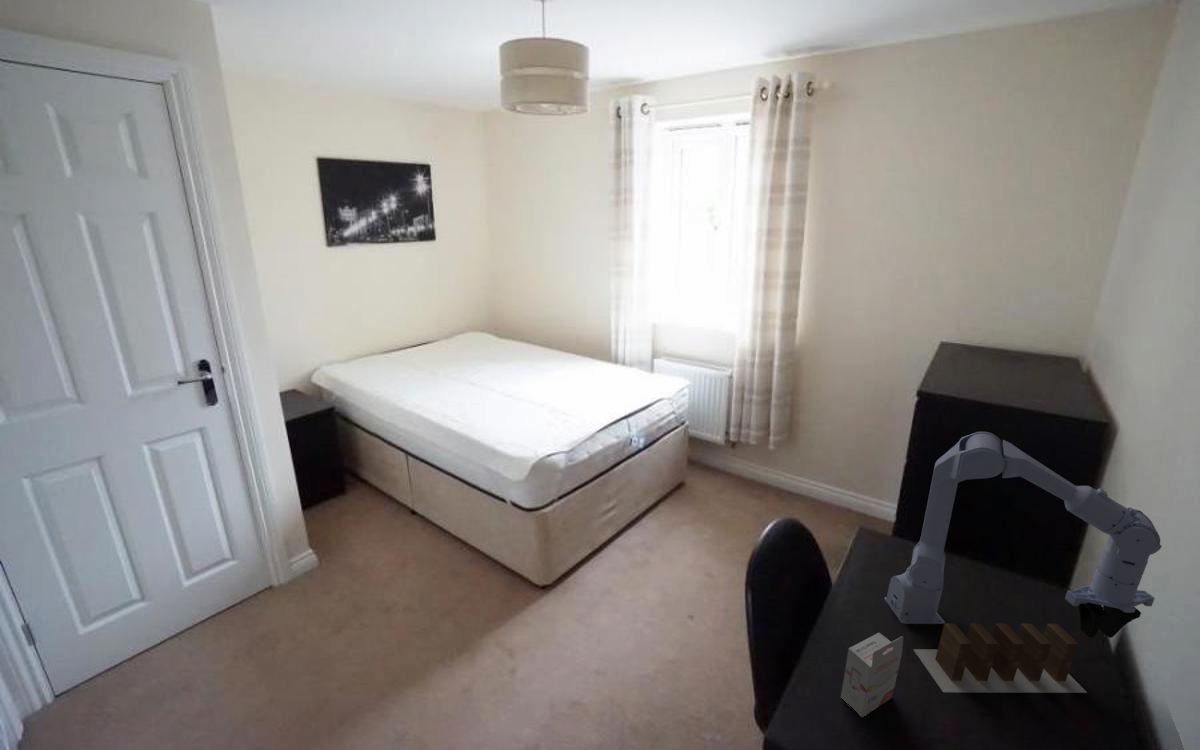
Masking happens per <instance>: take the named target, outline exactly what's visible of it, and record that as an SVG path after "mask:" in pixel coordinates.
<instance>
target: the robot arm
mask: <svg viewBox="0 0 1200 750" xmlns="http://www.w3.org/2000/svg"><path fill="white" fill-rule="evenodd" d="M932 473H933V474H932V479H931V482H930V483H931V484H930V489H929V493H928V499H927V504H926V509H925V514H924V519H923V525H922V529H921V536H920V539H919V541H918V542H917V543H916V545H915V546H914V547H913V549H912V559H911V564H910V565H909V566H908V567H907V568H906V571H905V572H903V573H901V574H898V575H894V576H892V577H891V578H890V580H889V585H888V589H887V595H886V596H885V597H884V601H885V602H886V603H887V605H888V606H889V607H890V609H891V611H892V612H893V613H894V614H895V616H896V617H897V618H898V620H899V621H900V623H901V624H903V625H904V624H905V625H911V624H912V625H913V624H914V625H919V624H920V625H944V623H946V621H945V620H944V619H943V617H942V616H941V615H940V614H939V613H938V608H939V605H940V601H941V597H942V593H943V589H944V585H945V582H944V580H945V576H944V574H945V573H944V571H945V570H944V569H945V563H946V559H947V556H946V553H945V546H946V541H947V536H948V532H949V526H950V522H951V518H952V513H953V508H954V503H955V499H956V494H957V490H958V484H959V483H960V482H963V481H966V480H979V479H980V480H982V479H990V478H994V477H997V476H998V475H1000V474H1001V478H1003V479H1008V478H1009V479H1010V478H1017V477H1019V478H1020V477H1021V478H1023V479H1025V480H1026V481H1028V482H1030V483H1032V484H1033V485H1035V486H1037V487H1039V488H1040V489H1043V490H1044V491H1046V492H1048V493H1049V494H1052V495H1053V496H1055V497H1057V498H1059V499H1061V500H1063V501H1064V507H1065V509H1066V510H1067V512H1070V513H1071V514H1073V515H1074V516H1076V517H1078V518H1079V519H1081V520H1082V521H1084V522H1086V523H1087V524H1089V525H1091V526H1092V527H1094V528H1095V529H1097V530H1099V531H1100V532H1102V533H1104V534H1106V535H1109V536H1108V539H1107V542H1106V544H1105V545H1104V548H1103V550H1102V553H1101V556H1100V559H1099V562H1098V565H1097V567H1096V570H1095V573H1094V576H1093V578H1092V581H1091V583H1089V584H1086V585H1084V586H1082V587H1079V588H1077V589H1072V590H1071V589H1070V590H1067V592H1066V593H1065V597H1064V599H1065V600H1066V601H1067V602H1068V603H1069V604H1071V606H1072V607H1077V608H1078V611H1079V612H1078V613H1079V618H1080V619H1079V620H1080V631H1081V632H1083V634H1085V635H1086V636H1087V637H1088V638H1091V639H1092V638H1094V637H1095V636H1096V635H1097V633H1098V631H1100V632H1101V633H1103V634H1104V635H1105V636H1106V637H1108V639H1110V638H1111V639H1113V638H1114V637H1115V636H1116V635H1117V633H1119V631H1120V630H1121V629H1123V628H1124V627H1125V626H1127V625H1128V624H1129V623H1131V622H1132V621H1134V620H1136V619H1138V618H1140V617H1141V615H1142V612H1141V611H1140V610H1139V609H1137V608H1136V607H1138V606H1140V605H1144V606H1145V607H1153V604H1154V601H1155V599H1156V598H1155V596H1152V595H1151V594H1150V593H1149V592H1148V591H1146V590H1140V589H1138V588H1139V586H1140V582H1141V581H1142V580H1141V579H1142V577H1143V575H1144V572H1145V570H1146V567H1147V565H1148V562H1149V558H1150V556H1151V555H1154V554H1157V552H1158V551H1160V550H1161V548H1162V544H1161V537H1160V535H1159V533H1158V531H1157V529H1156V528H1155V525H1154V523H1153V521H1152V520H1151V519H1150V518H1149V517H1148V515H1146V514H1145V513H1143V512H1142V510H1140V509H1135V508H1133V507H1126V506H1124V505H1122V504H1121V503H1119V502H1117V501H1116V500H1114V499H1112V498H1111V497H1109V494H1108V493H1107V491H1105V490H1104V489H1101V487H1100V488H1098V489H1095V488H1093V487H1091V486H1090V485H1075V484H1074V483H1072V482H1070V481H1069V480H1067V479H1066V478H1064V477H1062V476H1061V475H1060V474H1058V473H1056V472H1055V471H1053V470H1052V469H1050V468H1049V467H1047V466H1045V465H1044V464H1042V463H1041V462H1039V460H1036V459H1035V458H1033V457H1032V456H1031V455H1029V454H1027V453H1026V452H1024V451H1022V450H1021V449H1020V448H1018V447H1017V446H1015V445H1014V444H1013V443H1011V442H1009V441H1006V440H1004V439H1002V440H1001V439H1000V438H999V437H998V436H997V435H995V434H993V433H992V432H987V431H975V432H974V433H971V434H968V435H965V436H962V437H961V438H960V439H959V441H958V442H957V443H956V444H955V445H953V446H952V447H951V448H950V449H948V451H946V452H945V453H944V454H943V455H942V456H940V457H939V458H938V459H937V460H936V461H935V463H934V467H933V472H932Z"/></svg>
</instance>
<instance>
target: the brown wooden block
mask: <svg viewBox="0 0 1200 750" xmlns="http://www.w3.org/2000/svg"><path fill="white" fill-rule="evenodd" d="M1042 635H1043V636H1045V637H1046V638H1047V639H1048V640H1049V641H1050V642H1051V643H1052V645H1051V648H1050V651H1049V654H1048V657H1047V660H1046V663H1045V666H1044V670H1045V671H1046V672H1047V673H1048V674H1049V675H1050V676H1051V677H1052V678H1053V679H1054V680H1055V681H1066V678H1067V676H1068V674H1069V673H1070V670H1071V667H1072V664H1073V662H1074V660H1075V659H1074V658H1075V655H1076V653H1077V651H1078V648H1079V643H1078V641H1076V640H1075V639H1074V638H1073V637H1072V636H1071V634H1069V633H1068V632H1067V631H1066V630H1064V629H1063V627H1061V626H1060V625H1059V623H1046V625H1045V628H1044V632H1043V633H1042Z"/></svg>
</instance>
